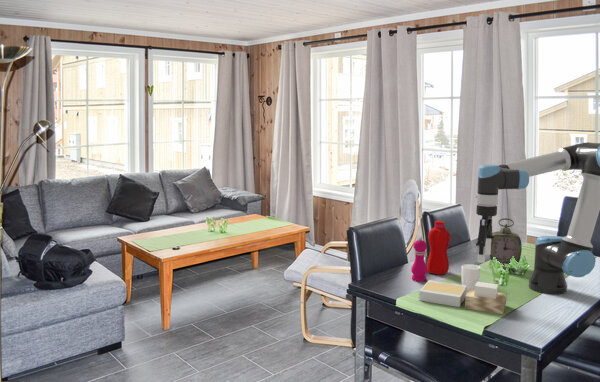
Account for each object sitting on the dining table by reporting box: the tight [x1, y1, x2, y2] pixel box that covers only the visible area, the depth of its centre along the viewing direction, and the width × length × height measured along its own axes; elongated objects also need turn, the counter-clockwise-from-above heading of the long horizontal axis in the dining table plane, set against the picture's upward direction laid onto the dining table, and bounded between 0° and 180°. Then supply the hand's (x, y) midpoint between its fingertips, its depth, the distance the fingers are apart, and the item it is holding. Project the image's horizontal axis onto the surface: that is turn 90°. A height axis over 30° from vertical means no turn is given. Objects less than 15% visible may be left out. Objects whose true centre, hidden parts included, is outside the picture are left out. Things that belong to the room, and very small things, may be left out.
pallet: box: [464, 289, 507, 315], centre depth 207 cm, size 14×10×5 cm
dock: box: [418, 279, 468, 308], centre depth 217 cm, size 16×16×4 cm
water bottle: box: [426, 220, 453, 276], centre depth 250 cm, size 9×11×25 cm
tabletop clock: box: [489, 217, 522, 266], centre depth 257 cm, size 14×9×25 cm, turn 73°
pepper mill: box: [410, 236, 428, 283], centre depth 240 cm, size 7×7×20 cm
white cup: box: [460, 263, 481, 292], centre depth 227 cm, size 8×8×10 cm
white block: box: [474, 281, 499, 299], centre depth 206 cm, size 8×6×4 cm
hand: (483, 258), depth 206 cm, fingers open, 13 cm apart
